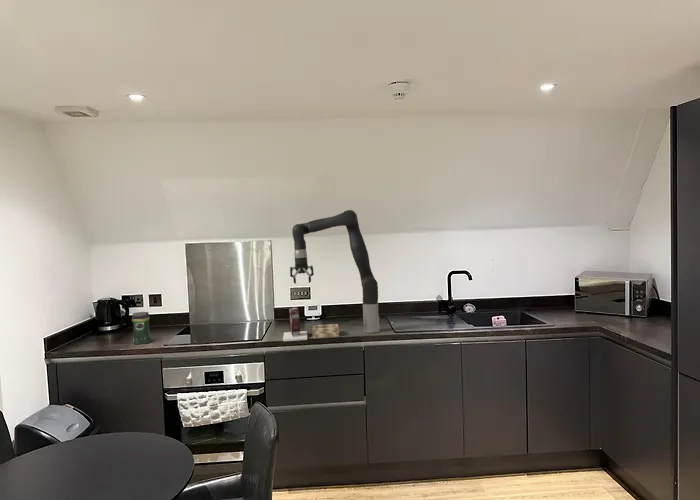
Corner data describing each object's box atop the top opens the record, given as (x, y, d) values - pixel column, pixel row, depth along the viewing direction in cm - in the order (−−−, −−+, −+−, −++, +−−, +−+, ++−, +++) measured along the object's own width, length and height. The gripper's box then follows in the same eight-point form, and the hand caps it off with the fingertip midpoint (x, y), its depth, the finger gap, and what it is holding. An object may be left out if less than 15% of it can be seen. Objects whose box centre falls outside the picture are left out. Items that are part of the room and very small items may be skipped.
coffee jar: (152, 341, 320) (150, 310, 319) (149, 343, 312) (147, 312, 311) (135, 342, 319) (133, 311, 318) (132, 345, 311) (130, 313, 310)
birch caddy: (337, 332, 323) (337, 324, 322) (339, 336, 311) (338, 327, 311) (312, 333, 321) (312, 325, 321) (312, 337, 310) (312, 329, 310)
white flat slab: (306, 332, 325) (306, 331, 325) (307, 339, 305) (307, 338, 305) (284, 334, 324) (283, 332, 324) (282, 341, 304) (282, 339, 304)
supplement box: (290, 334, 318) (289, 307, 317) (298, 333, 319) (297, 307, 318) (292, 337, 310) (291, 310, 309) (300, 336, 311) (299, 309, 310)
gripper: (289, 257, 317) (290, 284, 318) (312, 256, 319) (314, 283, 320) (289, 257, 325) (290, 283, 326) (312, 255, 327) (313, 281, 327)
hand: (302, 283), depth 323 cm, fingers open, 8 cm apart
